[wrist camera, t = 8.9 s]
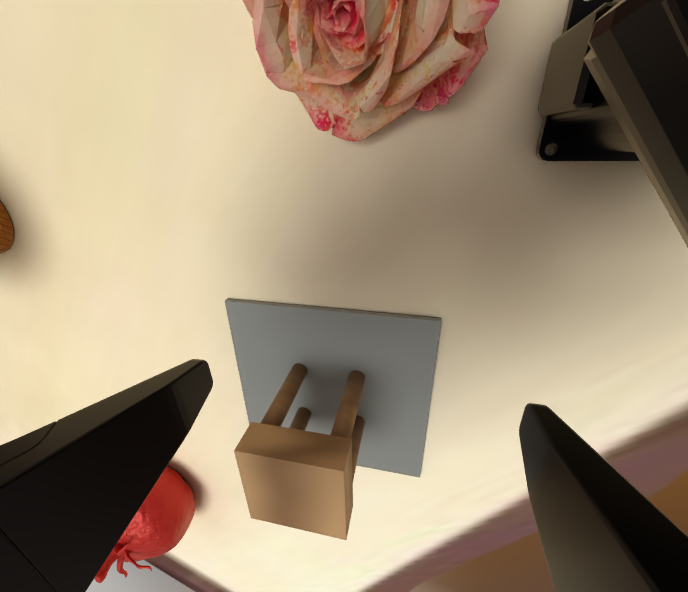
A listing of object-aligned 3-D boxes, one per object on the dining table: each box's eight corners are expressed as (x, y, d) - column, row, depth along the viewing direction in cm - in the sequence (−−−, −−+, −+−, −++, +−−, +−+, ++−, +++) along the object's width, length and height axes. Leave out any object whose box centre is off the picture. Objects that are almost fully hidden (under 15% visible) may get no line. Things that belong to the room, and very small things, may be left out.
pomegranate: (189, 452, 34) (116, 553, 25) (217, 513, 38) (161, 617, 29) (113, 446, 36) (23, 535, 28) (146, 504, 40) (76, 597, 32)
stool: (367, 369, 23) (343, 471, 16) (367, 429, 26) (346, 540, 18) (288, 359, 24) (234, 450, 17) (296, 418, 27) (251, 517, 20)
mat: (441, 318, 20) (441, 321, 20) (419, 473, 27) (420, 477, 27) (227, 298, 23) (224, 300, 23) (255, 442, 30) (253, 445, 30)
